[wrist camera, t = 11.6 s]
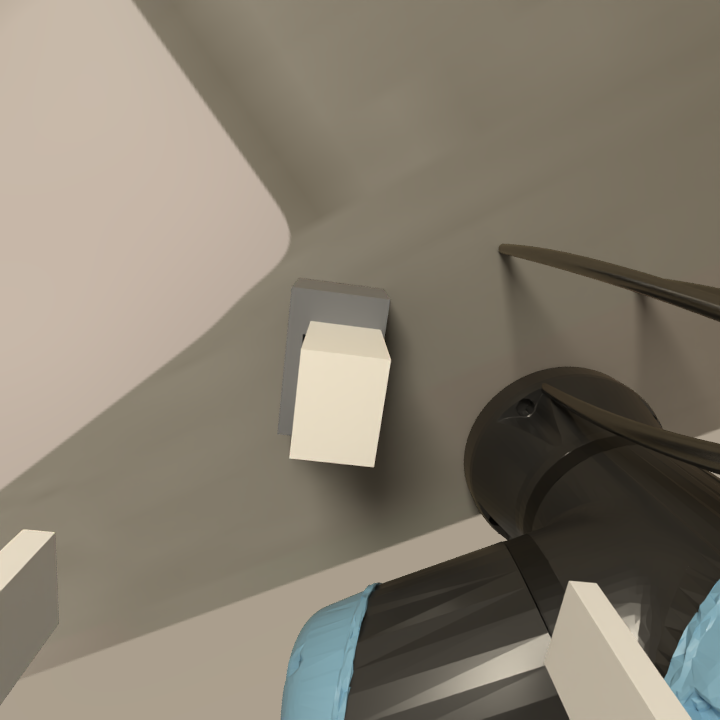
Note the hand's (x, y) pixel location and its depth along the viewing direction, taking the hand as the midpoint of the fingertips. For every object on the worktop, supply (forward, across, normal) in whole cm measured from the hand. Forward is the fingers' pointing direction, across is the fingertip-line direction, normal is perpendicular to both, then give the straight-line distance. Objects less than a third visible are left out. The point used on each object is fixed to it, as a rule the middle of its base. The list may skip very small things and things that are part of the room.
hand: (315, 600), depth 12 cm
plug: (+25, 0, 0) cm, 25 cm away
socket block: (+25, 0, 0) cm, 25 cm away
